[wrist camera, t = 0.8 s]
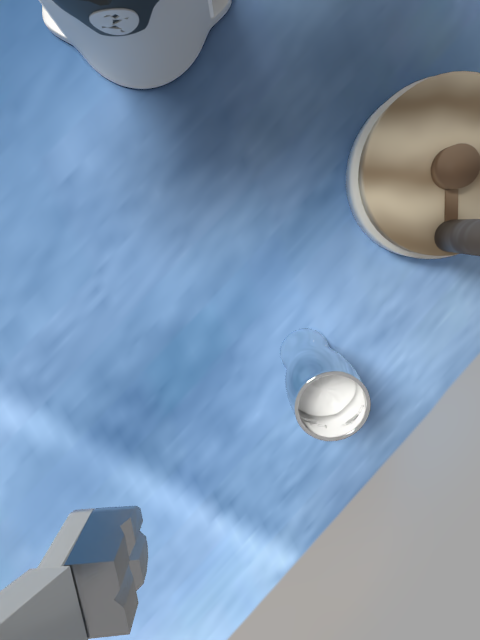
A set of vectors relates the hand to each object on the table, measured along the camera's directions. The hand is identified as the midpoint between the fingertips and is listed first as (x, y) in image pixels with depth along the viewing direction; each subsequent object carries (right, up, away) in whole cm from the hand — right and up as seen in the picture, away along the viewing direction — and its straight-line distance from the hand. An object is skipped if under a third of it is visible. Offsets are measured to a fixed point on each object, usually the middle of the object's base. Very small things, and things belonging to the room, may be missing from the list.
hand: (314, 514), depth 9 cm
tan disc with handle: (+19, +20, +31) cm, 41 cm away
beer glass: (+6, +1, +39) cm, 39 cm away
